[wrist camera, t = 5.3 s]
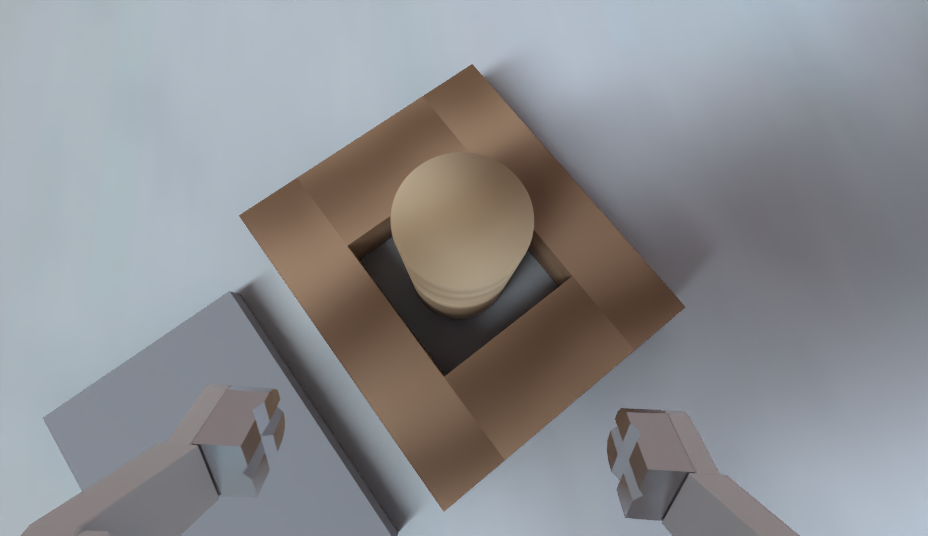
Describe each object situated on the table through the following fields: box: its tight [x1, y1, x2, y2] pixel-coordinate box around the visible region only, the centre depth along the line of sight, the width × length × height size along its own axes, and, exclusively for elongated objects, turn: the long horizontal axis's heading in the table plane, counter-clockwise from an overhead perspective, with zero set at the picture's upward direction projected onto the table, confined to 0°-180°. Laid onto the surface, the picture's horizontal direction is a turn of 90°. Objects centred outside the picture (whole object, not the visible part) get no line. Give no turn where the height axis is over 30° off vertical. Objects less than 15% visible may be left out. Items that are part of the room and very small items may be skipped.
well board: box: [239, 64, 685, 511], centre depth 20 cm, size 15×13×2 cm
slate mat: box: [43, 291, 398, 536], centre depth 19 cm, size 13×9×1 cm
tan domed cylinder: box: [391, 152, 534, 319], centre depth 17 cm, size 4×4×8 cm
